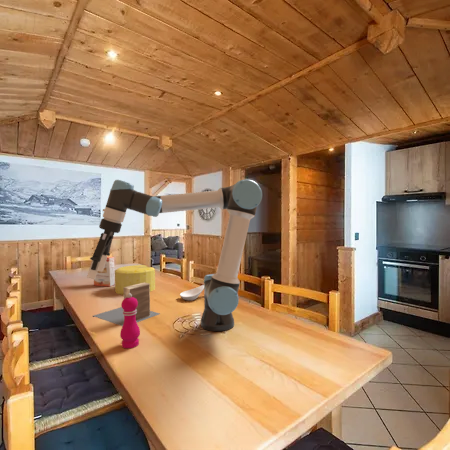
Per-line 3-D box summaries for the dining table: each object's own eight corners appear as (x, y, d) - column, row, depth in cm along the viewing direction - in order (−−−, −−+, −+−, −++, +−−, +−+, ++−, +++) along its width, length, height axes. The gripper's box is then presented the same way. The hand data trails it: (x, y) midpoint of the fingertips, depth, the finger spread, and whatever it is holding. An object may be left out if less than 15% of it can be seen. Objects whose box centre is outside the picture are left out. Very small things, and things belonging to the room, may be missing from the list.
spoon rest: (185, 303, 164) (184, 291, 163) (176, 298, 174) (176, 287, 173) (220, 297, 177) (220, 285, 176) (210, 292, 187) (210, 281, 186)
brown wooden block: (150, 315, 142) (150, 283, 141) (129, 323, 132) (129, 288, 131) (144, 314, 144) (144, 282, 144) (124, 321, 134) (123, 287, 134)
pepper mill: (133, 339, 116) (132, 289, 115) (144, 344, 111) (143, 292, 111) (116, 345, 110) (115, 293, 110) (127, 351, 106) (126, 297, 105)
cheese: (160, 285, 208) (159, 264, 207) (146, 295, 182) (146, 271, 181) (125, 284, 210) (125, 264, 210) (107, 294, 184) (107, 271, 184)
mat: (160, 314, 145) (160, 313, 145) (124, 328, 128) (124, 326, 128) (128, 305, 160) (128, 304, 160) (92, 316, 143) (92, 315, 143)
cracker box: (93, 285, 208) (92, 257, 207) (99, 284, 213) (98, 255, 213) (109, 287, 204) (109, 257, 203) (115, 285, 209) (114, 256, 209)
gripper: (108, 217, 120) (92, 265, 120) (94, 218, 96) (75, 279, 95) (126, 222, 122) (110, 270, 121) (117, 224, 98) (98, 284, 97)
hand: (95, 274), depth 108 cm, fingers open, 13 cm apart
